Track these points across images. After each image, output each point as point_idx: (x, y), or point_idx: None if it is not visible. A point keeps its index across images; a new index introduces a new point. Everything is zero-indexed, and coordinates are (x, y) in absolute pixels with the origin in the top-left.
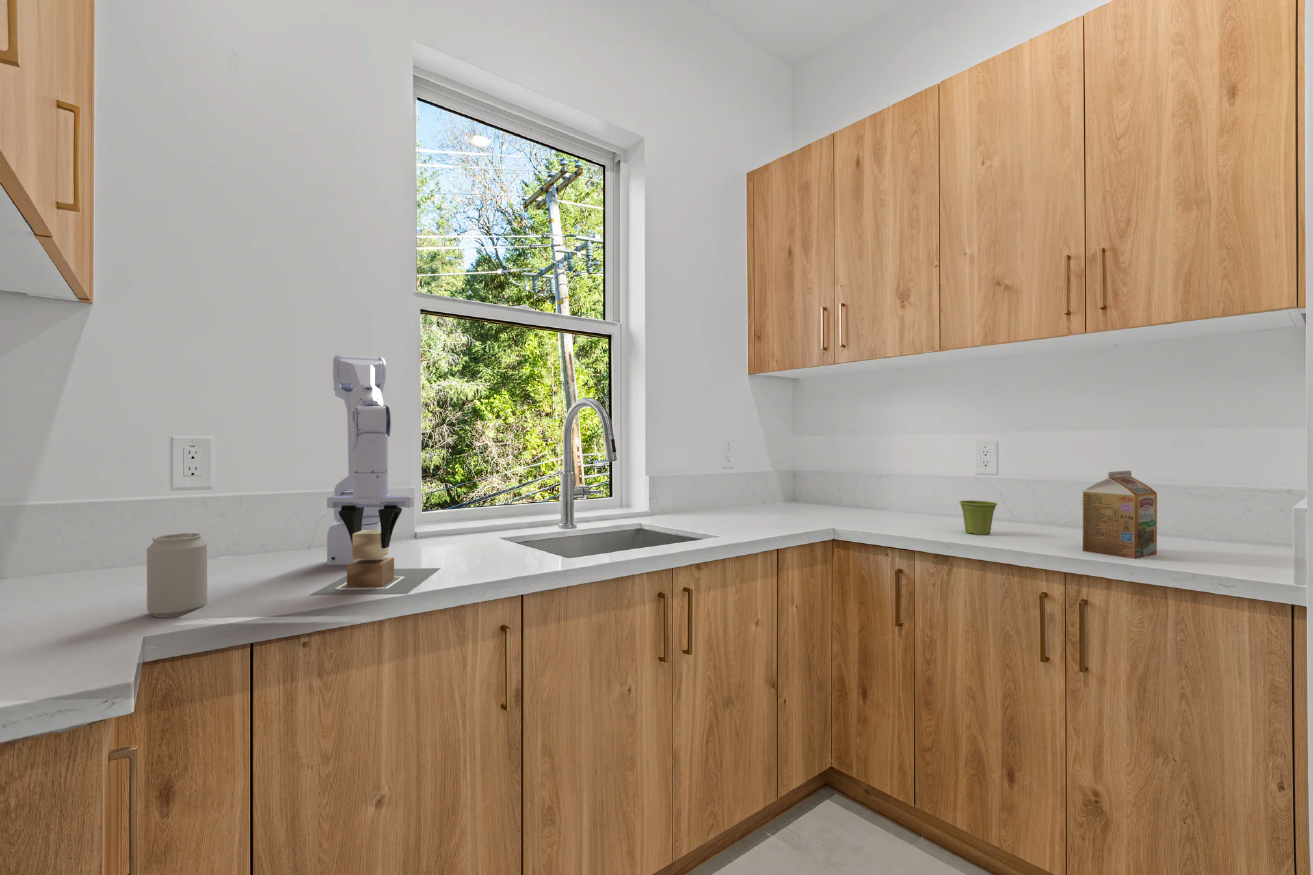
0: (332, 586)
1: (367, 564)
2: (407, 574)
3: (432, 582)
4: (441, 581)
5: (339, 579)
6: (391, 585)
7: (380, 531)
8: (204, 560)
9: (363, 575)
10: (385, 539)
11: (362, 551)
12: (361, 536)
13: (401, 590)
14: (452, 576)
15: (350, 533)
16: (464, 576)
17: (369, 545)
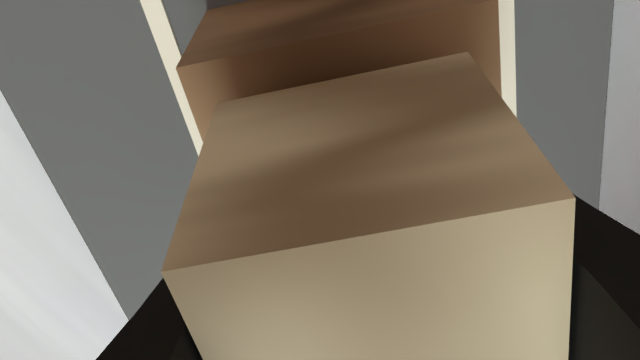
0: None
1: (304, 42)
2: None
3: (72, 236)
4: (41, 259)
5: (600, 145)
6: (156, 42)
7: None
8: None
9: (334, 3)
10: (160, 284)
11: (378, 103)
12: (420, 200)
13: None
14: (67, 344)
15: (638, 250)
16: (9, 351)
17: (303, 154)
